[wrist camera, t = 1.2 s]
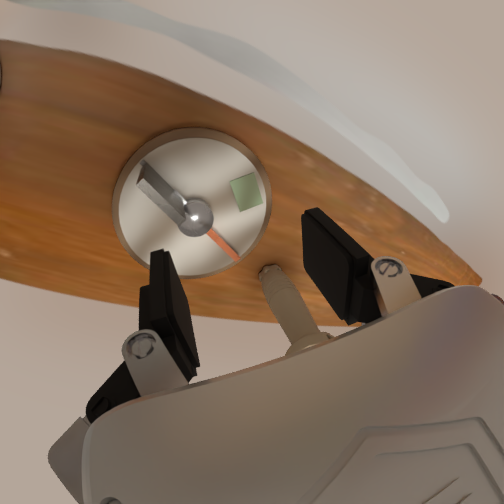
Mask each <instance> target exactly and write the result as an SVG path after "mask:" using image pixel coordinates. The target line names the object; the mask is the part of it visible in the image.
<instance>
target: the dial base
mask: <svg viewBox="0 0 504 504" xmlns="http://www.w3.org/2000/svg"><path fill="white" fill-rule="evenodd" d="M146 163H148V164H149V165H150V166H151V167H152V168H153V169H154V170H155V171H156V172H157V173H158V174H159V175H160V176H161V177H162V178H163V179H164V180H165V181H166V182H167V183H168V184H169V185H170V186H171V187H172V188H173V189H176V190H177V191H178V192H179V193H180V194H181V195H182V196H183V197H184V198H185V199H189V198H200V199H203V200H205V201H206V202H207V203H208V204H209V206H210V208H211V210H212V213H213V216H214V222H213V225H212V227H211V228H212V229H213V230H214V231H215V232H216V233H217V234H218V235H219V236H220V237H221V238H222V239H223V240H224V241H225V242H226V243H227V244H228V245H229V246H230V247H231V248H232V249H233V250H234V251H235V252H236V253H237V254H238V255H239V256H240V258H241V259H239V260H238V261H237V262H235V261H234V260H233V259H232V258H231V257H230V256H229V255H228V254H227V253H226V252H225V251H224V250H223V249H222V248H221V247H220V246H219V245H217V244H216V243H215V242H214V241H213V240H212V239H211V238H210V237H209V236H208V235H207V234H204V235H202V236H199V237H189V236H186V235H185V234H183V233H182V232H181V231H180V230H179V228H178V226H177V224H176V223H175V222H174V221H173V220H172V219H171V218H170V217H168V216H167V215H166V214H165V213H164V212H163V211H162V210H161V209H160V208H159V207H158V206H157V205H156V204H155V203H154V202H153V201H152V200H151V199H150V198H148V197H147V196H146V195H145V194H144V193H143V192H142V191H141V190H140V189H139V188H138V187H137V186H136V183H137V179H138V176H139V173H140V170H141V168H142V167H143V166H144V165H145V164H146ZM271 208H272V192H271V185H270V182H269V179H268V175H267V173H266V171H265V169H264V167H263V165H262V164H261V162H260V161H259V159H258V158H257V157H256V156H255V155H254V154H253V152H252V151H251V150H250V149H248V148H247V147H246V146H245V145H244V144H242V143H241V142H239V141H238V140H236V139H235V138H233V137H232V136H230V135H228V134H225V133H223V132H221V131H218V130H214V129H210V128H203V127H185V128H178V129H174V130H171V131H167V132H165V133H162V134H160V135H158V136H156V137H154V138H152V139H151V140H149V141H148V142H146V143H145V144H144V145H142V146H141V147H140V148H139V149H138V150H137V151H136V152H135V153H134V154H133V155H132V156H131V158H130V159H129V160H128V162H127V163H126V165H125V166H124V168H123V170H122V172H121V174H120V176H119V178H118V180H117V183H116V186H115V189H114V193H113V199H112V218H113V224H114V227H115V231H116V234H117V236H118V238H119V240H120V242H121V244H122V245H123V247H124V248H125V250H126V251H127V252H128V253H129V254H130V256H131V257H132V258H133V259H135V260H136V261H137V262H138V263H139V264H141V265H142V266H144V267H145V268H147V269H149V270H150V252H153V251H156V250H160V249H164V251H169V252H170V254H171V257H172V260H173V263H174V266H175V268H176V271H177V274H178V276H179V279H196V278H203V277H208V276H212V275H215V274H218V273H220V272H223V271H225V270H227V269H229V268H230V267H232V266H234V265H236V264H237V263H238V262H240V261H241V260H242V259H244V258H245V257H246V256H247V255H248V254H249V253H250V252H251V251H252V250H253V249H254V248H255V246H256V245H257V244H258V242H259V241H260V239H261V238H262V236H263V234H264V232H265V230H266V227H267V225H268V222H269V219H270V215H271Z"/></svg>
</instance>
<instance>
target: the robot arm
mask: <svg viewBox="0 0 504 504" xmlns="http://www.w3.org/2000/svg"><path fill="white" fill-rule="evenodd" d="M0 84H1V66H0ZM301 222H302V241H303V263H304V268H305V270H306V272H307V273H308V275H309V276H310V277H311V279H312V280H313V282H314V283H315V284H316V286H317V287H318V289H319V290H320V291H321V293H322V294H323V296H324V297H325V298H326V300H327V301H328V303H329V304H330V306H331V307H332V308H333V310H334V311H335V313H336V314H337V315H338V317H339V318H340V319H341V320H345V321H346V323H347V324H348V326H349V325H351V324H353V323H356V322H362V326H361V327H358V328H356V329H354V330H351V331H349V332H346V333H344V334H341V335H339V336H336V337H334V338H331V339H329V340H326V341H324V342H321V343H319V344H316V345H313V346H311V347H308V348H305V349H303V350H300V351H297V352H294V353H291V354H289V355H286V356H283V357H280V358H277V359H274V360H271V361H268V362H265V363H262V364H259V365H256V366H253V367H249V368H246V369H243V370H240V371H236V372H233V373H229V374H226V375H222V376H219V377H215V378H212V379H208V380H204V381H201V382H197V383H193V384H189V381H190V380H191V379H192V377H194V376H197V373H196V367H200V363H199V358H198V353H197V348H196V342H195V337H194V332H193V326H192V321H191V315H190V309H189V304H188V300H187V297H186V295H185V292H184V290H183V287H182V284H181V282H180V279H179V276H178V274H177V271H176V268H175V266H174V263H173V260H172V257H171V254H170V252H169V251H164V249H160V250H156V251H153V252H150V285H146V286H143V287H141V288H140V298H139V331H136V332H134V333H133V334H132V335H130V336H129V337H128V338H127V339H126V340H125V342H124V344H123V346H122V355H123V357H124V360H125V361H124V362H123V363H122V364H121V365H120V366H119V367H118V368H117V369H116V371H115V372H114V373H113V374H112V375H111V376H110V377H109V378H108V379H107V380H106V382H105V383H104V384H103V385H102V386H101V387H100V388H99V390H97V392H96V393H95V394H94V395H93V396H92V397H91V399H90V400H89V401H88V404H87V407H86V416H85V417H84V418H83V419H82V418H81V417H79V418H78V419H77V420H76V421H75V422H74V424H73V425H72V426H71V427H70V428H69V429H68V430H67V431H66V432H65V433H64V434H63V435H62V436H61V437H60V438H59V439H58V440H57V441H56V442H55V443H54V445H53V446H52V447H51V448H50V450H49V453H48V462H49V464H50V466H51V468H52V469H53V471H54V472H55V473H56V475H57V476H58V478H59V479H60V481H61V482H62V483H63V484H64V486H65V487H66V489H67V490H68V491H69V492H70V494H71V495H72V496H73V497H74V499H75V500H76V501H77V502H78V503H79V504H504V301H503V300H502V299H501V298H500V297H499V296H497V295H494V294H490V293H489V292H488V291H486V290H484V289H483V288H480V287H478V286H473V285H463V286H454V285H453V284H451V283H449V282H446V281H442V280H438V279H433V278H428V277H423V276H418V275H413V274H410V273H409V272H408V270H407V268H406V266H405V265H404V263H403V262H402V261H400V260H399V259H397V258H394V257H390V256H382V257H378V258H376V259H374V258H373V257H372V256H370V254H369V253H368V252H366V251H365V250H364V249H363V248H362V247H361V246H360V245H359V244H358V243H357V242H356V241H355V240H354V239H353V238H352V237H350V236H349V235H348V234H347V233H346V232H345V231H344V230H343V229H342V228H341V227H340V226H338V225H337V224H336V223H335V222H334V221H333V220H332V219H331V218H329V217H328V216H327V215H326V214H325V213H324V212H323V211H322V210H320V209H319V208H318V207H317V208H312V209H308V210H305V212H304V214H302V216H301Z"/></svg>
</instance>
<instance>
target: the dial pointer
mask: <svg viewBox="0 0 504 504" xmlns="http://www.w3.org/2000/svg"><path fill="white" fill-rule="evenodd" d="M136 186H137V187H138V188H139V189H140V190H141V191H142V192H143V193H144V194H145V195H146V196H147V197H148V198H150V199H151V200H152V201H153V202H154V203H155V204H156V205H157V206H158V207H159V208H160V209H161V210H162V211H163V212H164V213H165V214H166V215H167V216H168V217H170V218H171V219H172V220H173V221H174V222H175V223H176V224H177V226H178V228H179V230H180V231H181V232H182V233H183V234H185V235H186V236H189V237H199V236H202V235H204V234H207V235H208V236H209V237H210V238H211V239H212V240H213V241H214V242H215V243H216V244H217V245H219V246H220V247H221V248H222V249H223V250H224V251H225V252H226V253H227V254H228V255H229V256H230V257H231V258H232V259H233V260H234V261H235V262H237V261H238V260H239V259H241V258H240V256H239V255H238V254H237V253H236V252H235V251H234V250H233V249H232V248H231V247H230V246H229V245H228V244H227V243H226V242H225V241H224V240H223V239H222V238H221V237H220V236H219V235H218V234H217V233H216V232H215V231H214V230H213V229H212V228H211V227H212V225H213V222H214V216H213V213H212V210H211V208H210V206H209V204H208V203H207V202H206V201H205V200H203V199H200V198H189V199H185V198H184V197H183V196H182V195H181V194H180V193H179V192H178V191H177V190H176V189H173V188H172V187H171V186H170V185H169V184H168V183H167V182H166V181H165V180H164V179H163V178H162V177H161V176H160V175H159V174H158V173H157V172H156V171H155V170H154V169H153V168H152V167H151V166H150V165H149V164H148V163H146V164H145V165H144V166H143V167H142V168H141V170H140V173H139V176H138V179H137V183H136Z"/></svg>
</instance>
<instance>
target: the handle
mask: <svg viewBox="0 0 504 504" xmlns="http://www.w3.org/2000/svg"><path fill="white" fill-rule="evenodd" d="M281 270H282V269H281V268H280V267H279V266H278V265H276V264H274V265H272V266H265V267H263V270H262V271H261V272H260V273H259V279H260V281H261V282H262V289H263V292H264V295H265V297H266V300H267V302H268V304H269V306H270V308H271V310H272V312H273V314H274V315H275V317H276V319H277V320H278V322H279V324H280V325H281V327H282V329H283V330H284V332H285V334H286V335H287V337H288V339H289V341H290V342H291V344H292V345H291V346H290V348H289V349H288V350H287V352H286V354H285V356H286V355H289V354H291V353H294V352H297V351H300V350H303V349H305V348H308V347H311V346H313V345H316V344H319V343H321V342H324V341H326V340H329V339H331V338H334V337H333V336H332V335H330V334H329V333H327V332H320V330H319V329H318V327H317V325H316V323H315V322H314V320H313V318H312V316H311V314H310V312H309V310H308V308H307V306H306V304H305V303H304V301H303V299H302V297H301V295H300V293H299V291H298V290H297V288H296V287H295V285H294V284H293V283H292V281H291V280H290V279H289V277H288V276H287V275H286V274H285V273H284V272H282V271H281Z"/></svg>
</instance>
